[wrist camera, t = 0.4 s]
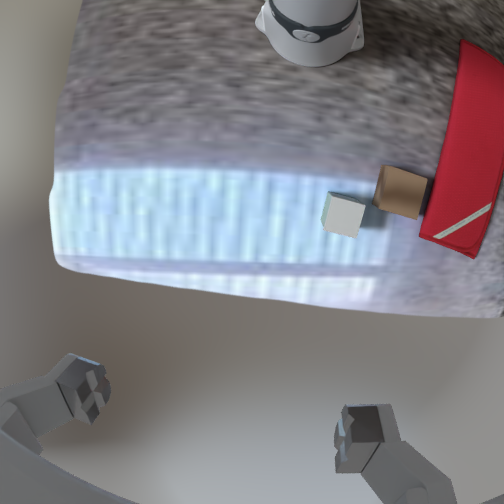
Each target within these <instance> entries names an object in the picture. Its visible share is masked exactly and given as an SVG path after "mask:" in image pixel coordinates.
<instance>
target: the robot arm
mask: <svg viewBox="0 0 504 504" xmlns="http://www.w3.org/2000/svg"><path fill="white" fill-rule="evenodd" d="M264 1H266V2H265V4H264V6H262V9H261V11H260V13H259V15H258V17H257V19H256V21H255V24H256V27H257V28H258V29H259V30H260V31H261V32H263V33H264V34H265V35H266V36H267V37H268V39H269V41H270V43H271V44H272V46H273V48H274V49H275V50H276V51H277V52H278V53H279V54H280V55H281V56H282V57H284V58H285V59H287V60H289V61H291V62H293V63H295V64H298V65H302V66H308V67H320V66H326V65H329V64H332V63H334V62H336V61H338V60H339V59H341V58H342V57H343V56H344V55H346V54H347V53H349V52H353V51H357V50H360V49H362V48H363V46H364V33H363V23H362V14H361V6H360V0H264ZM357 36H358V37H359V38H357ZM105 374H106V370H105V367H104V366H103V365H101V364H99V363H96V362H93V361H91V360H88V359H85V358H82V357H79V356H77V355H74V354H72V353H70V354H66V355H65V356H64V357H63V359H61V360H60V362H58V364H56V365H55V366H54V367H53V368H52V369H51V370H50V371H49V373H47V374H46V376H39V377H35V378H32V379H29V380H26V381H23V382H20V383H17V384H13V385H10V386H7V387H4V388H0V504H138V503H135V502H133V501H130V500H127V499H125V498H122V497H120V496H117V495H115V494H112V493H110V492H108V491H106V490H103V489H101V488H99V487H97V486H94V485H92V484H90V483H88V482H86V481H84V480H82V479H80V478H78V477H76V476H74V475H72V474H70V473H69V472H67V471H65V470H63V469H61V468H60V467H58V466H56V465H54V464H52V463H51V462H49V461H47V460H46V459H44V458H42V457H41V456H39V455H40V453H41V452H42V451H43V447H42V445H41V444H40V443H39V441H38V439H37V438H38V437H40V436H42V435H44V434H45V433H47V432H49V431H51V430H53V429H55V428H57V427H59V426H61V425H62V424H64V423H66V422H68V421H70V420H72V419H73V418H76V419H78V420H81V421H83V422H85V423H88V424H90V425H92V424H93V422H94V421H95V419H96V418H97V416H98V415H99V413H100V410H99V407H102V406H104V405H106V403H107V402H108V400H109V398H110V394H111V386H110V383H109V381H108V380H107V379H106V378H105ZM341 413H342V419H340V420H339V421H338V423H337V425H336V429H335V435H334V446H335V448H336V449H337V450H338V452H337V454H336V456H335V467H336V473H361V475H362V476H363V477H364V479H365V480H366V482H367V483H368V484H369V485H370V487H371V488H372V489H373V491H374V492H375V493H376V494H377V496H378V497H379V498H380V500H381V501H382V502H383V503H384V504H457V501H456V497H455V493H454V490H453V486H452V482H451V479H449V478H448V477H447V476H446V475H445V474H443V473H442V472H441V471H440V470H438V469H437V468H436V467H435V466H434V465H433V464H432V463H430V462H429V461H428V460H427V459H426V458H425V457H423V456H422V455H421V454H420V453H419V452H418V451H416V450H415V449H414V448H413V447H412V446H410V445H409V444H408V443H407V442H406V441H401V438H400V434H399V431H398V427H397V424H396V420H395V416H394V413H393V409H392V406H391V405H390V404H375V405H374V404H367V405H366V404H359V405H349V404H348V405H345V406H344V407H343V409H342V412H341ZM481 504H504V494H503V495H500V496H498V497H495V498H493V499H491V500H488V501H486V502H483V503H481Z"/></svg>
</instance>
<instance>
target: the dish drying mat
mask: <svg viewBox="0 0 504 504" xmlns="http://www.w3.org/2000/svg"><path fill="white" fill-rule="evenodd" d="M503 171H504V65H503V64H502V63H501V62H500V61H498V60H497V59H496V58H495V57H493V56H492V55H490V54H489V53H487V52H486V51H484V50H483V49H481V48H480V47H478V46H476V45H474V44H472V43H470V42H468V41H466V40H464V39H461V40H460V50H459V62H458V69H457V75H456V81H455V87H454V93H453V100H452V105H451V111H450V116H449V121H448V126H447V131H446V135H445V140H444V143H443V147H442V151H441V155H440V159H439V163H438V167H437V171H436V174H435V178H434V182H433V186H432V190H431V194H430V197H429V201H428V205H427V208H426V211H425V214H424V218H423V221H422V225H421V229H420V233H419V237H420V238H423V239H426V240H429V241H432V242H435V243H437V244H440V245H442V246H445V247H447V248H450V249H452V250H455V251H457V252H460V253H462V254H464V255H466V256H468V257H470V258H472V259H475V257H476V254H477V252H478V250H479V248H480V245H481V242H482V240H483V237H484V234H485V232H486V229H487V226H488V224H489V220H490V217H491V214H492V211H493V208H494V204H495V201H496V197H497V194H498V190H499V186H500V183H501V179H502V175H503Z"/></svg>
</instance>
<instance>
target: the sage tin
mask: <svg viewBox="0 0 504 504" xmlns="http://www.w3.org/2000/svg"><path fill="white" fill-rule="evenodd" d="M365 206H366V205H364V204H362V203H360V202H359V201H358V200H356V199H354V198H350V197H347V196H343V195H339V194H336V193H332V192H328V193H327V197H326V201H325V205H324V209H323V213H322V216H321V222H322V224H323V227H324V228H323V230H325V231H329V232H333V233H337V234H341V235H344V236H348V237H352V238H357V235H358V231H359V228H360V224H361V221H362V217H363V214H364V210H365Z"/></svg>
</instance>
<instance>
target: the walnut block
mask: <svg viewBox="0 0 504 504" xmlns="http://www.w3.org/2000/svg"><path fill="white" fill-rule="evenodd" d="M427 180H428V179H426V178H424V177H421V176H418V175H415V174H413V173H410V172H407V171H404V170H401V169H398V168H395V167H392V166H387V165H381V169H380V173H379V178H378V182H377V186H376V190H375V194H374V198H373V202H372V204H373V205H374V206H376V207H377V208H379V209H382V210H385V211H388V212H392V213H395V214H399V215H402V216H405V217H408V218H412V219H415V220H417V218H418V214H419V211H420V207H421V204H422V200H423V196H424V192H425V188H426V184H427Z"/></svg>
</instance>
